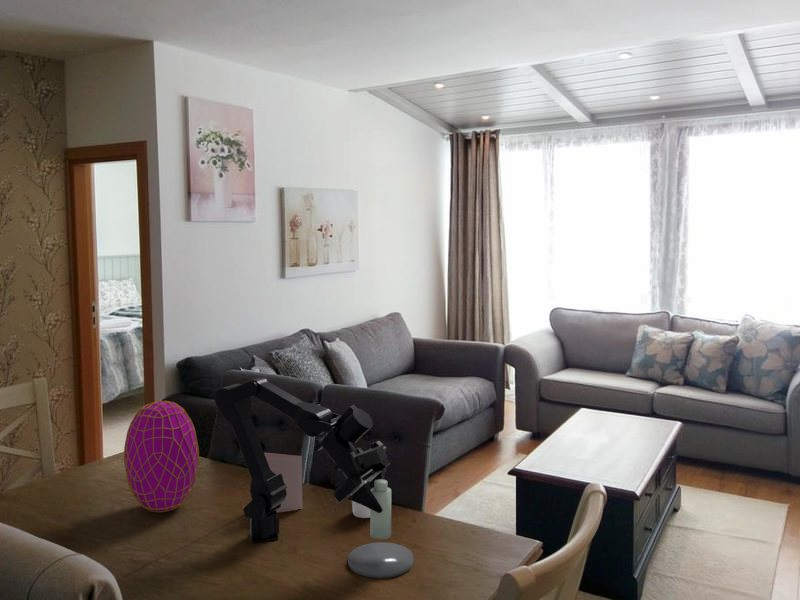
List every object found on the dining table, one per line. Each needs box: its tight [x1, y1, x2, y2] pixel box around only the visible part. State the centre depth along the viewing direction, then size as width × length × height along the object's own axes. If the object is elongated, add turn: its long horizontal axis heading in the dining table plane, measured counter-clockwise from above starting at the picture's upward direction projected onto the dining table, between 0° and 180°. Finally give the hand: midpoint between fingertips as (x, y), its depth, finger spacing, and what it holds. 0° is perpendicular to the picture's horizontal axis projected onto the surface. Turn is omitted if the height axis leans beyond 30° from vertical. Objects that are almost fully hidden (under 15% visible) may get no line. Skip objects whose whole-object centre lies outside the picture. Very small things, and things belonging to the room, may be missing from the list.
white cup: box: [351, 480, 370, 519], centre depth 182 cm, size 8×8×10 cm
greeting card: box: [264, 452, 303, 513], centre depth 184 cm, size 11×7×15 cm, turn 74°
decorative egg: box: [123, 400, 200, 513], centre depth 184 cm, size 19×19×30 cm
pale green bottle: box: [369, 479, 392, 540], centre depth 154 cm, size 5×5×12 cm
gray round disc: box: [347, 541, 414, 579], centre depth 155 cm, size 15×15×1 cm
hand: (386, 507), depth 153 cm, fingers closed on pale green bottle, 5 cm apart
